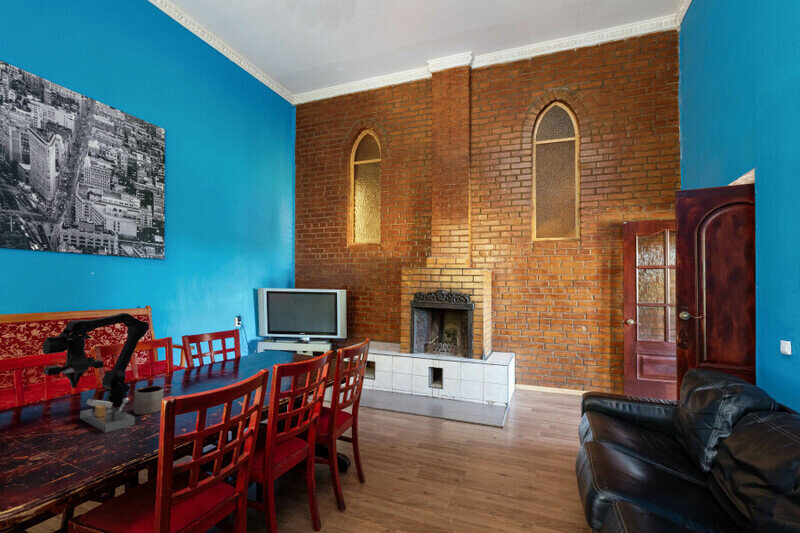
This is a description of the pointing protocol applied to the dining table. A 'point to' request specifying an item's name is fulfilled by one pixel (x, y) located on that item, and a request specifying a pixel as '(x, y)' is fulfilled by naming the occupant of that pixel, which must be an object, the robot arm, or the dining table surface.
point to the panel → (107, 419)
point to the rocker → (99, 403)
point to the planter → (148, 400)
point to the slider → (100, 410)
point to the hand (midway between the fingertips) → (73, 387)
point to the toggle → (122, 405)
